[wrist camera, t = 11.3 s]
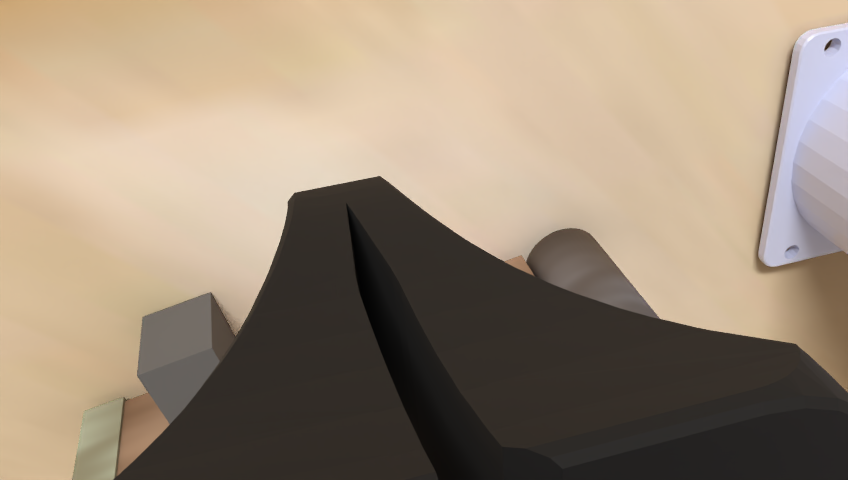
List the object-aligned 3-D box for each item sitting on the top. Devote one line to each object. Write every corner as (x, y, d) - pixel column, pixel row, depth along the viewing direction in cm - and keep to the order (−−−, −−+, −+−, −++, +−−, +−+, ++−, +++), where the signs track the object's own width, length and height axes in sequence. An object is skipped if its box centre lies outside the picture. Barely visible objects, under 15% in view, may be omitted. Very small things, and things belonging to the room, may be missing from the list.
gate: (592, 216, 24) (669, 306, 20) (602, 276, 25) (676, 373, 21) (79, 404, 23) (54, 539, 19) (117, 456, 24) (102, 592, 20)
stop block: (210, 292, 22) (212, 347, 20) (238, 342, 23) (242, 400, 21) (142, 317, 22) (137, 375, 20) (173, 366, 23) (171, 426, 21)
